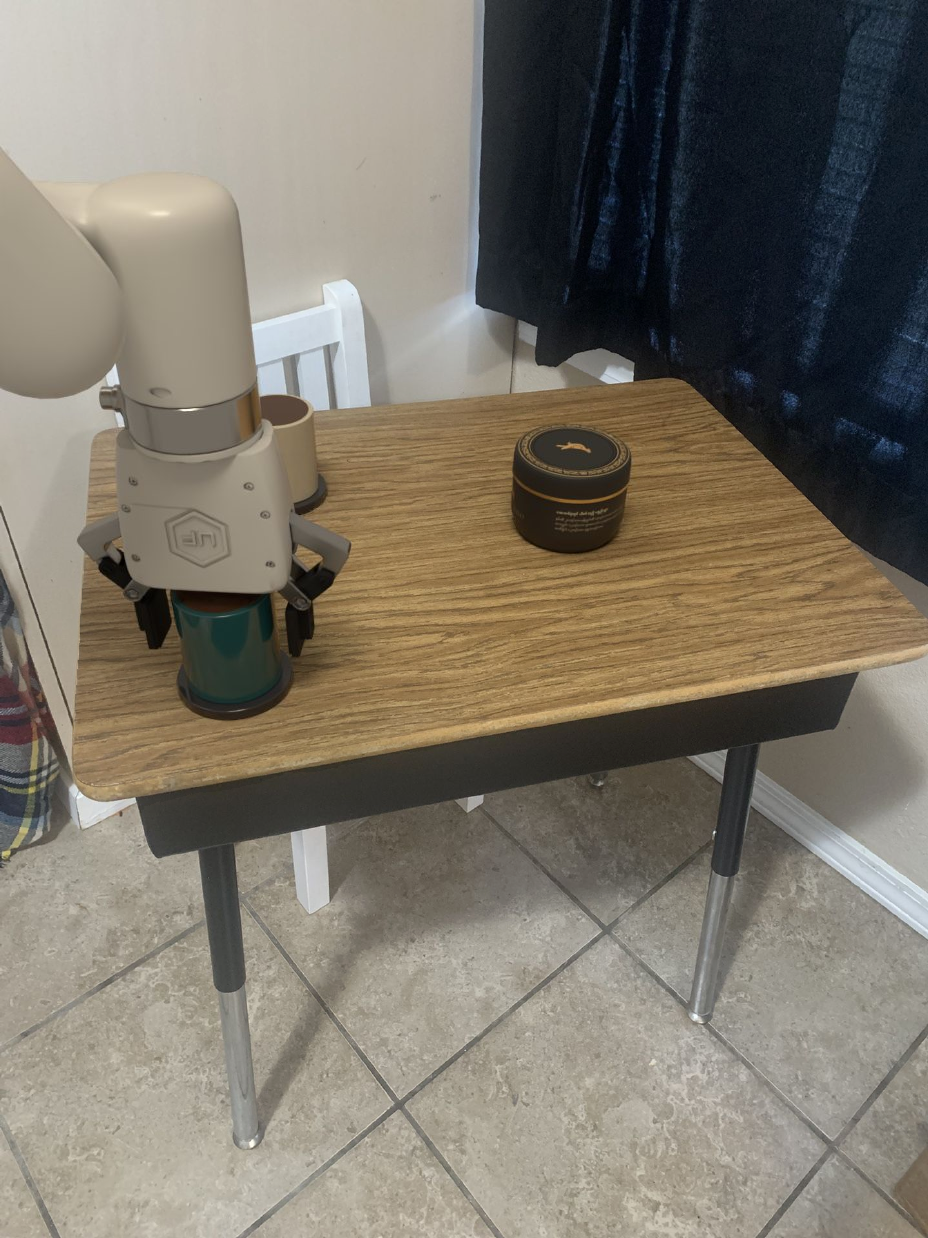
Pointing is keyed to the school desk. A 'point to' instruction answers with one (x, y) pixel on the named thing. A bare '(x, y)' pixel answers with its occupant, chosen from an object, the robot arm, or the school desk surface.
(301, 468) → the cup back
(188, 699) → the saucer front
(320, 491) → the dark grey round coaster
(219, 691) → the cup front
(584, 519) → the jar
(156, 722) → the school desk surface
